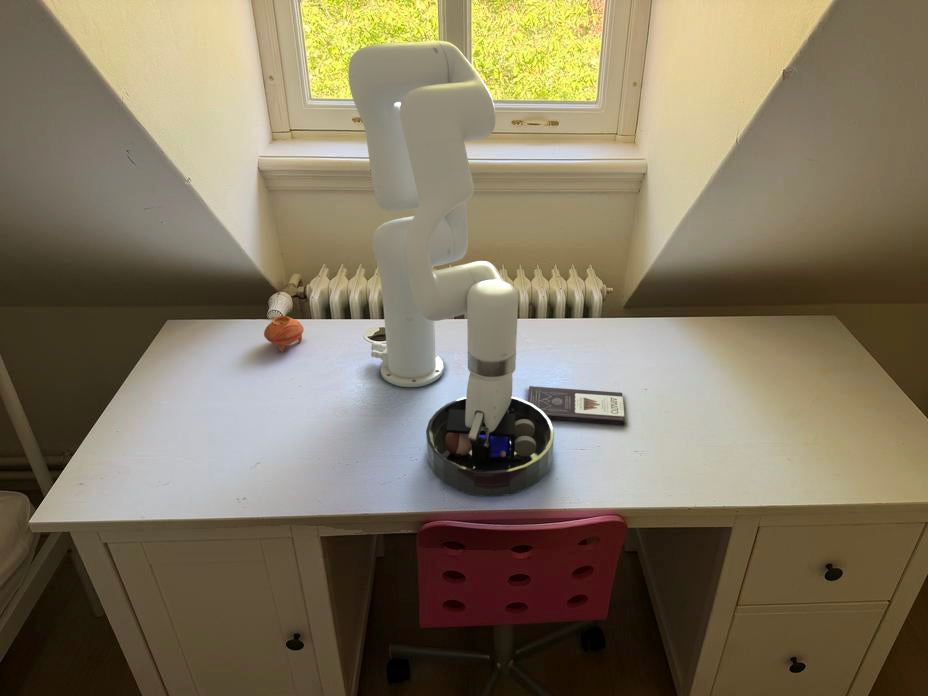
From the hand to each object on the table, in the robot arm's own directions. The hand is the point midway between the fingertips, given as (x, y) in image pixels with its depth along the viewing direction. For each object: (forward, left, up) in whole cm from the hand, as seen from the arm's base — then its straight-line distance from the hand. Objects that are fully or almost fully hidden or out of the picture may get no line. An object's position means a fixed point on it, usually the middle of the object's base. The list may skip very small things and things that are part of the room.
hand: (490, 446), depth 117 cm
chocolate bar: (+10, +19, -2) cm, 22 cm away
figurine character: (0, 0, -2) cm, 2 cm away
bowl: (0, 0, -2) cm, 2 cm away
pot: (-53, +18, -2) cm, 56 cm away
